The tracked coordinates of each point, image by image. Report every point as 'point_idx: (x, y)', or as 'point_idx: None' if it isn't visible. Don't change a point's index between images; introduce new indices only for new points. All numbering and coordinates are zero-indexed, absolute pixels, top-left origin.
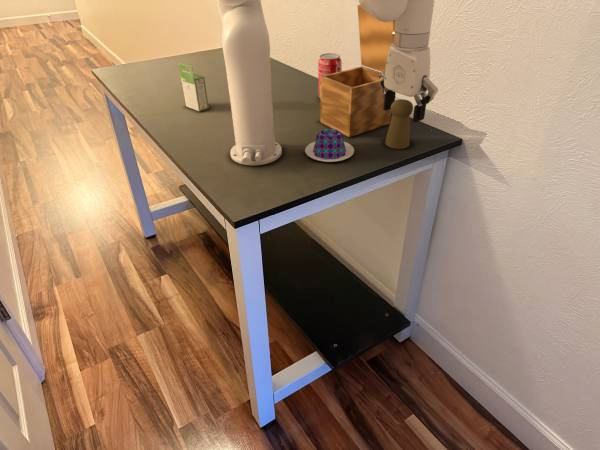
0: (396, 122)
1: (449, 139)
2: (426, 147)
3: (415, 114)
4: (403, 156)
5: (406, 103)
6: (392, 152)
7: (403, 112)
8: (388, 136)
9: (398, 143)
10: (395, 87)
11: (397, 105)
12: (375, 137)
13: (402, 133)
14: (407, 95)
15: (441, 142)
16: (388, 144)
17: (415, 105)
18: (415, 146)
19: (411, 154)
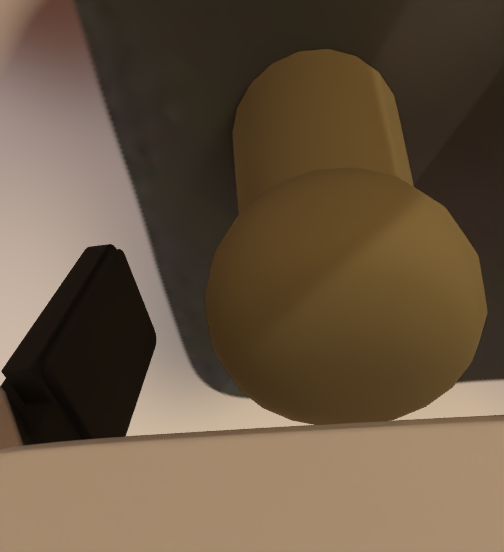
0: (287, 153)
1: (218, 375)
2: (188, 251)
3: (55, 295)
4: (129, 53)
5: (260, 362)
6: (215, 15)
7: (220, 246)
8: (341, 76)
9: (247, 106)
10: (467, 538)
11: (307, 252)
12: (499, 56)
13: (241, 159)
14: (18, 450)
15: (207, 336)
16: (314, 54)
17: (33, 376)
18: (225, 211)
19: (139, 123)
